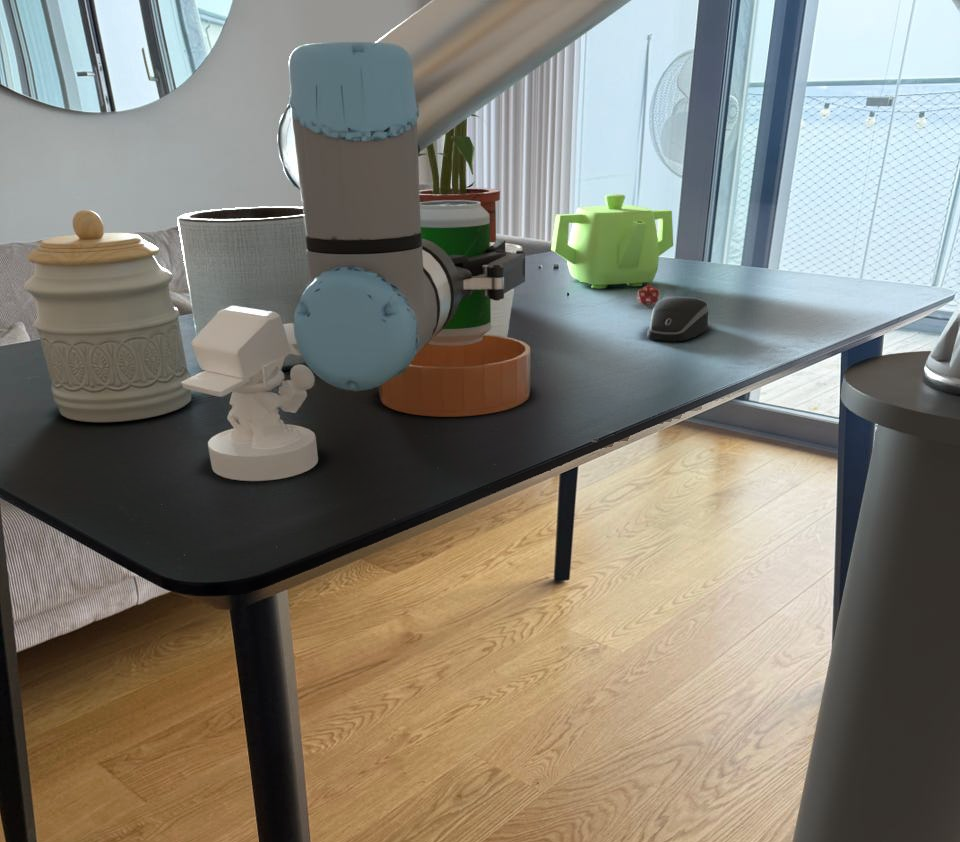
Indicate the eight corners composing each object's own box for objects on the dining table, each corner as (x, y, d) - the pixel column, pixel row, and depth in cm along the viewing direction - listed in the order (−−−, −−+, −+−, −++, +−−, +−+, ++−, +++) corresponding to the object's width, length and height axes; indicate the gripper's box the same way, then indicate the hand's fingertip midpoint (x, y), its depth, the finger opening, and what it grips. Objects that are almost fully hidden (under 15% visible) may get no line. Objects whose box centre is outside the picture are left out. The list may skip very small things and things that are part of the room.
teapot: (696, 290, 140) (705, 197, 134) (572, 298, 137) (575, 202, 130) (651, 273, 156) (657, 189, 149) (539, 279, 153) (541, 193, 146)
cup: (538, 343, 110) (540, 246, 105) (480, 358, 104) (478, 255, 99) (482, 332, 117) (480, 240, 111) (424, 345, 111) (419, 248, 105)
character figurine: (339, 458, 75) (324, 306, 69) (249, 492, 68) (224, 328, 62) (269, 440, 80) (249, 295, 73) (178, 470, 73) (148, 315, 67)
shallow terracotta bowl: (560, 393, 91) (561, 347, 89) (452, 426, 82) (451, 376, 80) (456, 369, 100) (455, 327, 98) (349, 397, 91) (345, 351, 89)
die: (632, 306, 130) (634, 284, 128) (645, 303, 132) (647, 282, 130) (649, 309, 128) (650, 286, 127) (662, 306, 130) (664, 284, 128)
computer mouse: (635, 340, 111) (637, 305, 109) (662, 321, 121) (664, 289, 119) (692, 344, 109) (695, 309, 107) (714, 324, 118) (718, 292, 116)
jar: (32, 425, 85) (-24, 218, 76) (90, 389, 96) (47, 204, 87) (169, 425, 84) (128, 216, 75) (211, 388, 95) (180, 202, 86)
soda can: (504, 334, 90) (503, 200, 84) (468, 350, 84) (465, 207, 78) (438, 328, 93) (433, 198, 87) (399, 343, 87) (391, 205, 81)
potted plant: (482, 290, 144) (478, 26, 127) (520, 306, 132) (521, 15, 114) (377, 299, 139) (356, 25, 122) (405, 317, 127) (387, 14, 109)
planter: (313, 377, 98) (295, 220, 90) (176, 373, 101) (147, 220, 93) (356, 345, 112) (344, 205, 104) (235, 342, 114) (214, 206, 107)
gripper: (283, 343, 73) (362, 294, 92) (536, 348, 70) (562, 296, 89) (271, 242, 69) (356, 213, 89) (537, 242, 66) (565, 212, 85)
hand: (459, 255), depth 89 cm, fingers closed on soda can, 7 cm apart
